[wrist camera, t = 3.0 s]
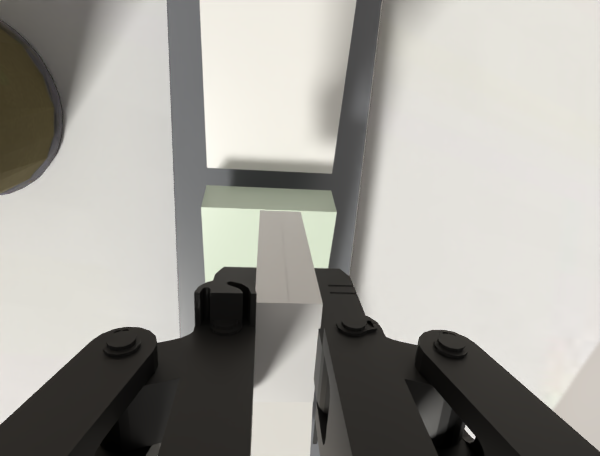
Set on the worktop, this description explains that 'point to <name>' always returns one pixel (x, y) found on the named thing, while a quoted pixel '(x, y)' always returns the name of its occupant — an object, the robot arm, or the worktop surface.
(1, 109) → the canister
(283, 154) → the block
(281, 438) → the block
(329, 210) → the rocker mid
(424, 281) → the worktop surface
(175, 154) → the rocker switch panel
